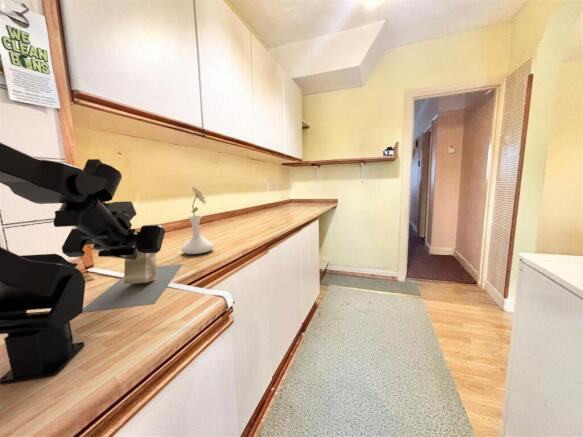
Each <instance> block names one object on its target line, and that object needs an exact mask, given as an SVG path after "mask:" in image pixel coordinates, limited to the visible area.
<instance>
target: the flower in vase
mask: <svg viewBox="0 0 583 437" xmlns="http://www.w3.org/2000/svg"><path fill="white" fill-rule="evenodd" d="M191 189H192V192H193V193H194V195H195V197H194V199H193V202H192V206H191V208H192V210H191V213H193V215H188V216H187V218H188V220H189V221H190V223H191V227H192V235H191V238H190V239H189V240H188V241H186V242H185V244H183V246H181V249H180V251H181V252H182V253H184V254H187V255H198V254H204V253H207V252H210V251H212V250H213V248H214V244H213V243H212V242H211V241H209V240H207V239H206V238H205V237H203V236H202V235H201V233H200V221H201V218H202V217H203V216H202V215H199V214H197V215H195V213H196V212H197V211H198V210H199V207H197V206H195V207H194V204H195V202H196V199H198V201H200V202H201V203H202V204H204V205H205V204H206V203H207V201H206V200H205V197H204V196H203V194H202V192H201V190H199V189H198V188H197V187H196V186H194V185H193V186H191Z"/></svg>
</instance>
